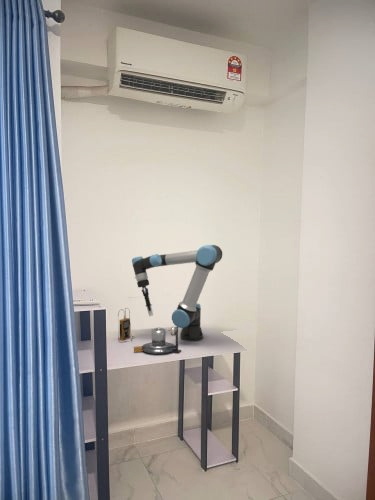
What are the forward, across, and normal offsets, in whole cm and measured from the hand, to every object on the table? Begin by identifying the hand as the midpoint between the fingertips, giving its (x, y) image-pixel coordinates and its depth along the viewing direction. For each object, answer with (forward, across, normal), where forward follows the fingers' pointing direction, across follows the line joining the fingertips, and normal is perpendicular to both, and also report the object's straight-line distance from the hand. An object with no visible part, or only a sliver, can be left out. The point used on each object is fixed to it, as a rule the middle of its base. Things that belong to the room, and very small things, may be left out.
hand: (151, 315), depth 235 cm
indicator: (+23, +20, +9) cm, 32 cm away
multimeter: (+11, -4, -18) cm, 21 cm away
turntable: (+19, +17, -2) cm, 26 cm away
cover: (+19, +18, +1) cm, 26 cm away
